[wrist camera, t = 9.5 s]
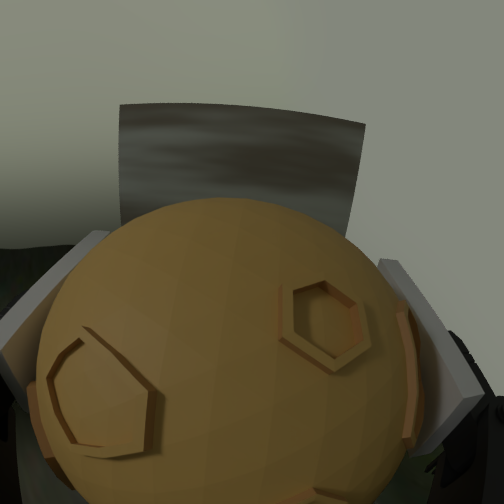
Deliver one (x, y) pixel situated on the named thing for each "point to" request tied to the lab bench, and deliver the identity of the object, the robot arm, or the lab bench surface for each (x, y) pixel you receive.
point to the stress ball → (227, 363)
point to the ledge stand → (237, 158)
